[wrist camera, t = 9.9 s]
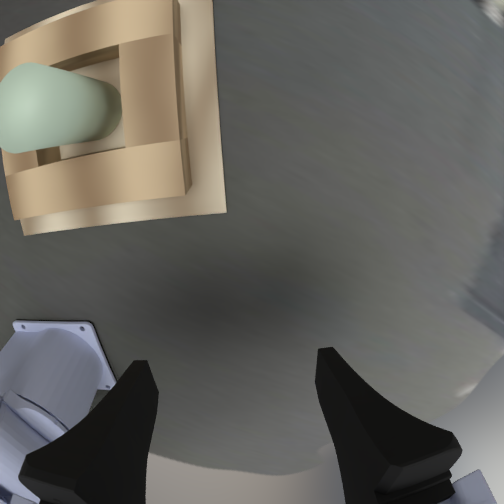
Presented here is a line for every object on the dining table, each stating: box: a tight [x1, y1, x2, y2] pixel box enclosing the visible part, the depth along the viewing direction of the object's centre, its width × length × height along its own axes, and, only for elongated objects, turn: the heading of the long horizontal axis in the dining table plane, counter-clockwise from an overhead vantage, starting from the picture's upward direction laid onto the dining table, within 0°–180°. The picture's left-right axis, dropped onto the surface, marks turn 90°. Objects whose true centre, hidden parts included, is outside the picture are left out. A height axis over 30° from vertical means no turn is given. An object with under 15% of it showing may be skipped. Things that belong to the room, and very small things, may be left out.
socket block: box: [0, 0, 227, 236], centre depth 15 cm, size 16×16×3 cm
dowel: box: [0, 62, 122, 153], centre depth 13 cm, size 4×4×8 cm
